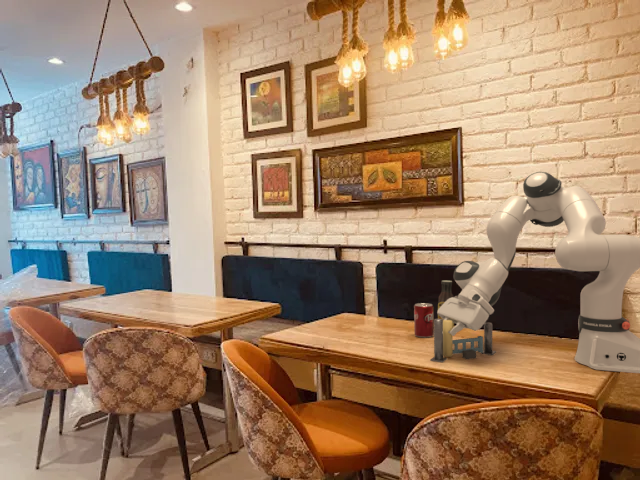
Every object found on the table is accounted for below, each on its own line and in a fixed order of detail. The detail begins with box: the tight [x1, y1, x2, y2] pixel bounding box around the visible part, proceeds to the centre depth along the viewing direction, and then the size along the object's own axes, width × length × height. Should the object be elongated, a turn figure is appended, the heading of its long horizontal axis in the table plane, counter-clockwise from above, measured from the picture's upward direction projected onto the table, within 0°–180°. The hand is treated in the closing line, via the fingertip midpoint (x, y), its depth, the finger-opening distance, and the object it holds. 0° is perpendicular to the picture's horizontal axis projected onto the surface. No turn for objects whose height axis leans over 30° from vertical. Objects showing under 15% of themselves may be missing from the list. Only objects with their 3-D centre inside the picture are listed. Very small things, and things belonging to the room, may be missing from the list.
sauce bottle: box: [437, 280, 455, 328], centre depth 203 cm, size 7×6×20 cm
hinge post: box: [479, 321, 497, 356], centre depth 170 cm, size 4×4×10 cm
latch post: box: [430, 318, 448, 363], centre depth 164 cm, size 4×4×13 cm
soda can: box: [413, 302, 435, 339], centre depth 196 cm, size 7×7×12 cm
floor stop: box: [461, 350, 477, 361], centre depth 165 cm, size 4×2×2 cm, turn 110°
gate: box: [443, 320, 484, 358], centre depth 167 cm, size 14×3×11 cm, turn 106°
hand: (446, 332), depth 165 cm, fingers open, 3 cm apart
